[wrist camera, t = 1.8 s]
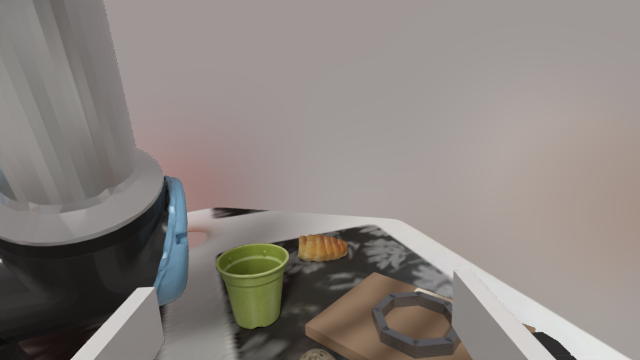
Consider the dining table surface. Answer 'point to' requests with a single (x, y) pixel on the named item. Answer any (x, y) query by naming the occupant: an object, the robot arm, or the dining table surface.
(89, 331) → the dining table surface
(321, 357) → the decorative egg
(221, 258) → the plant pot
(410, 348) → the ring socket
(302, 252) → the pastry
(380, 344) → the walnut board
